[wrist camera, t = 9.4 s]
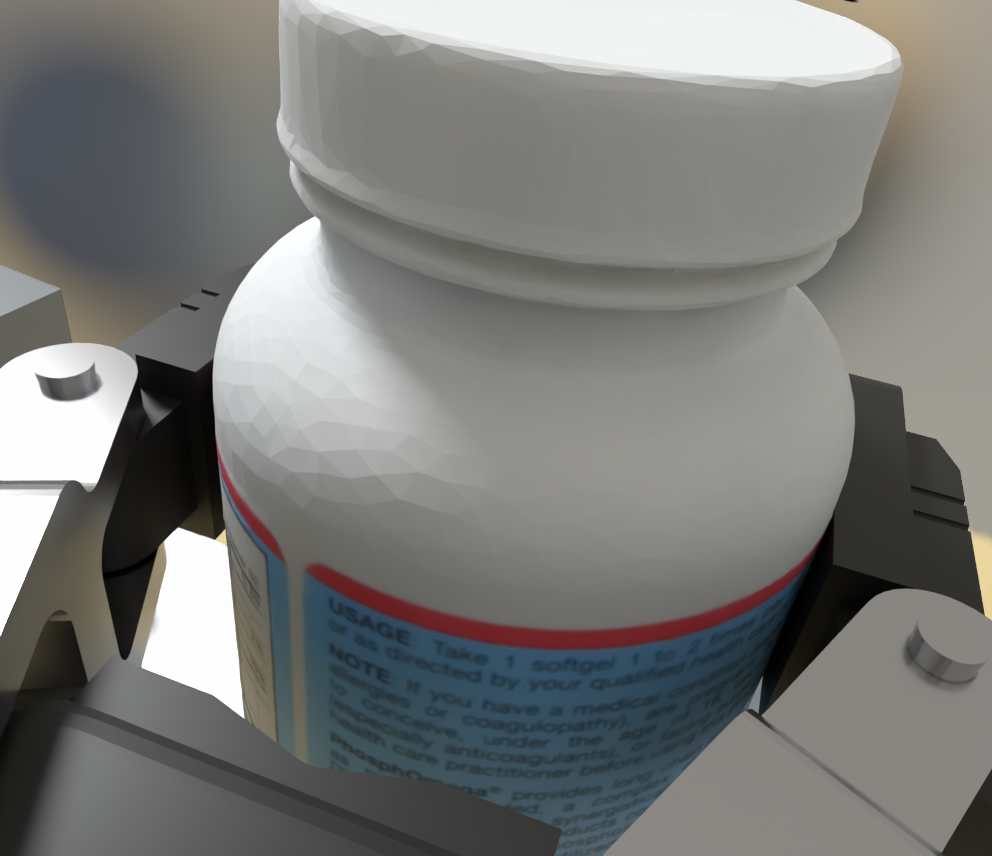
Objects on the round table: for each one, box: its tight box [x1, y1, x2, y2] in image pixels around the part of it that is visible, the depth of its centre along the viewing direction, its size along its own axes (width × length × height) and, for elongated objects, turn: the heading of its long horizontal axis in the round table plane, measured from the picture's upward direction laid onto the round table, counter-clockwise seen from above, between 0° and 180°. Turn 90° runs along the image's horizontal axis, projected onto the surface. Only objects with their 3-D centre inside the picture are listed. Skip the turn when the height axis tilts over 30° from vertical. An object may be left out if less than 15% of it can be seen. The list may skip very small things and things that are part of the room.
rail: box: [142, 528, 244, 718], centre depth 30 cm, size 8×34×2 cm, turn 63°
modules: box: [0, 265, 762, 713], centre depth 26 cm, size 7×34×9 cm, turn 63°
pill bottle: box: [213, 0, 904, 856], centre depth 10 cm, size 6×6×11 cm
